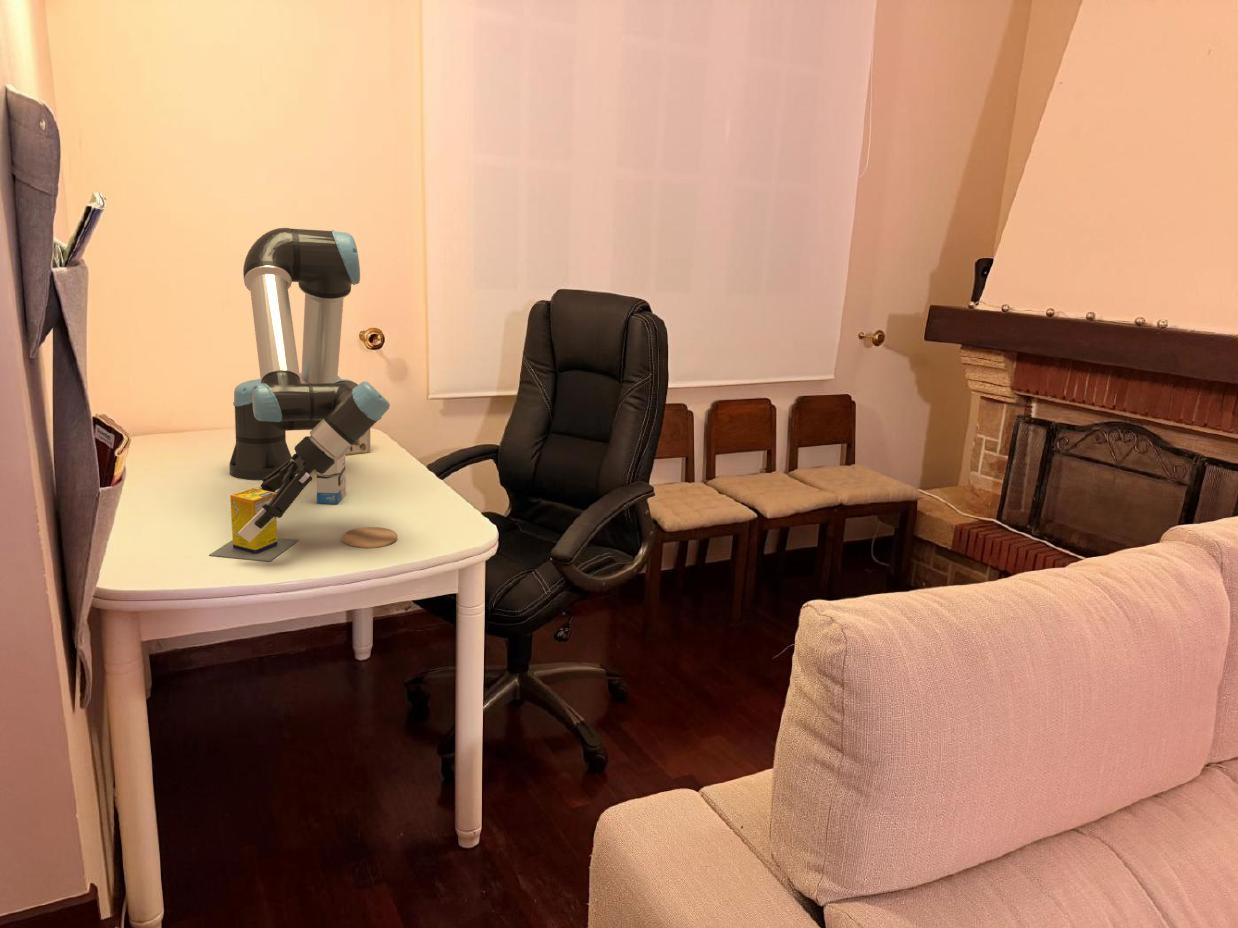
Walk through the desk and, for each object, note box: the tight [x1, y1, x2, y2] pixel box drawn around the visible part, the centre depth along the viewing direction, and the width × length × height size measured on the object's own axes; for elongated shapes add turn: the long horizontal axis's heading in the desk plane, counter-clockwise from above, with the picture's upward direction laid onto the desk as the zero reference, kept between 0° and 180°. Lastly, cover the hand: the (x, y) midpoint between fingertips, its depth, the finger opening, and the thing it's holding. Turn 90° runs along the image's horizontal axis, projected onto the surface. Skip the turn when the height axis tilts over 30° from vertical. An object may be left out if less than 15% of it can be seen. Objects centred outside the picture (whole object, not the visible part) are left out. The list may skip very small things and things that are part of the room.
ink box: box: [315, 453, 347, 505], centre depth 201 cm, size 8×5×12 cm, turn 4°
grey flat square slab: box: [208, 537, 299, 563], centre depth 169 cm, size 12×12×1 cm
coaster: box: [341, 526, 399, 549], centre depth 179 cm, size 11×11×1 cm
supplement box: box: [229, 487, 278, 554], centre depth 168 cm, size 6×6×11 cm
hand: (242, 525), depth 167 cm, fingers open, 13 cm apart
